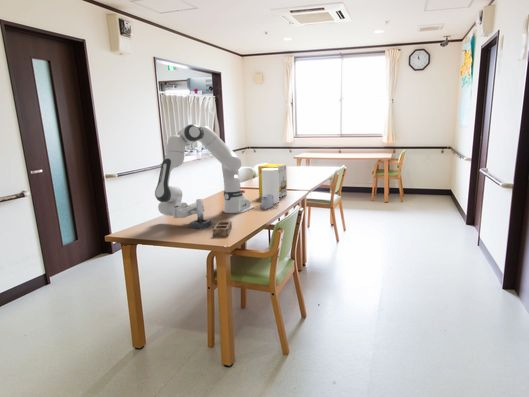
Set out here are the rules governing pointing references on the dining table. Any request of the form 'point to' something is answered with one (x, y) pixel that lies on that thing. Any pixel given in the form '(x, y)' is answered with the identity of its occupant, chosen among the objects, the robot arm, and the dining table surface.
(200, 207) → the rod
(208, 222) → the socket block
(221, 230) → the tool rack
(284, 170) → the packaging box
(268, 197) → the medicine box
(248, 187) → the dining table surface
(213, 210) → the dining table surface
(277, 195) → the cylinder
